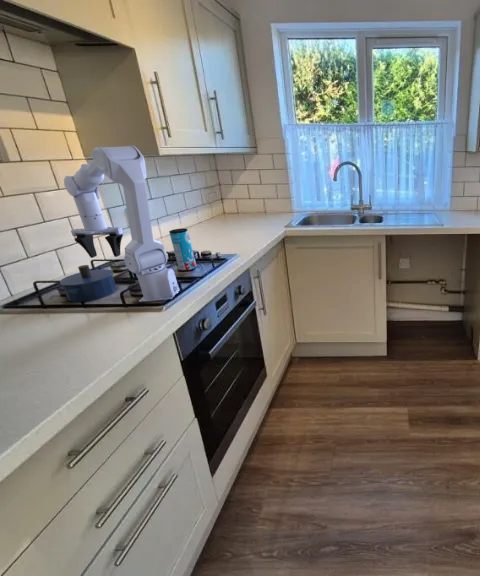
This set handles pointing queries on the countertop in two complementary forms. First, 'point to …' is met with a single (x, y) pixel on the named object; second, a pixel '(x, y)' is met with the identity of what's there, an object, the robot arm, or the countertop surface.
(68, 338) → the countertop surface
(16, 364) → the countertop surface
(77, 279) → the tin lid
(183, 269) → the beverage can
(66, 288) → the tin
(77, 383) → the countertop surface
